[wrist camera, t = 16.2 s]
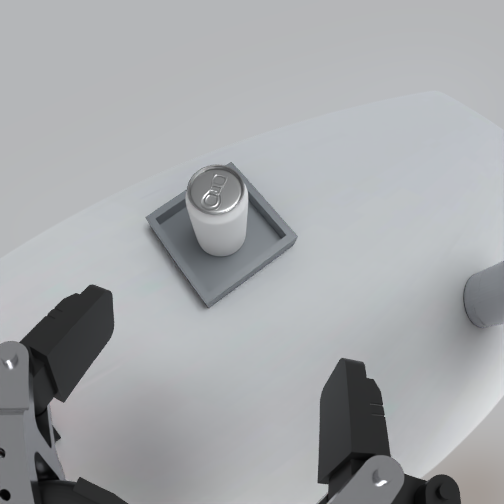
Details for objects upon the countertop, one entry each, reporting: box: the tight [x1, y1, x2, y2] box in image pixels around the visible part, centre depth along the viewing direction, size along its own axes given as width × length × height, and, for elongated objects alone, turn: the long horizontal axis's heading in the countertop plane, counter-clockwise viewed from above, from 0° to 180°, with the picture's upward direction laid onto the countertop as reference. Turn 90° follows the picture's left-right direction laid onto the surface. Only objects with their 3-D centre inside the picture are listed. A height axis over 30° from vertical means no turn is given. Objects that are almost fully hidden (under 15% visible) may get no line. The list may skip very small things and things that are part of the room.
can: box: [185, 165, 248, 256], centre depth 35 cm, size 6×6×12 cm
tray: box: [145, 162, 298, 308], centre depth 40 cm, size 14×14×3 cm
